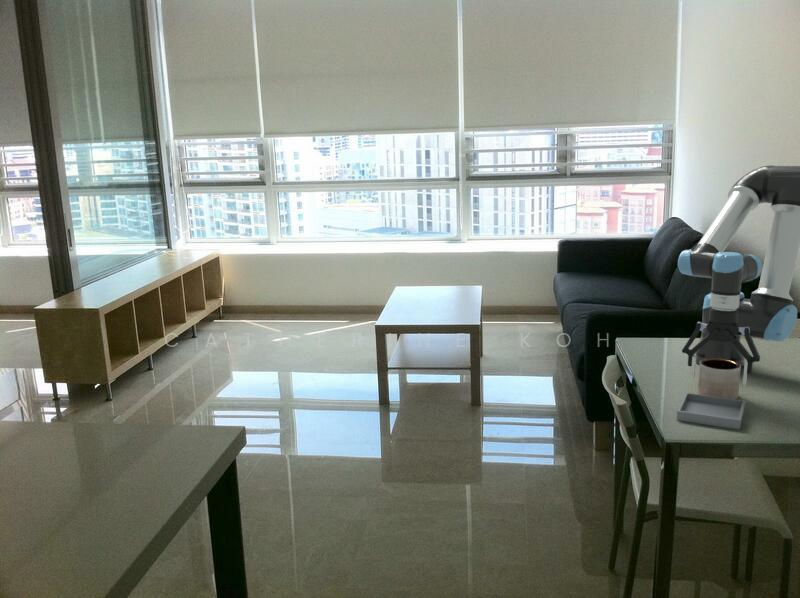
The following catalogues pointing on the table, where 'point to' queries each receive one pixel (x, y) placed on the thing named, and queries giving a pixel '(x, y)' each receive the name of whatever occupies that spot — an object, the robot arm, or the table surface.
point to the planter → (719, 378)
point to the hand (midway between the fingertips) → (718, 380)
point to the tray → (711, 410)
